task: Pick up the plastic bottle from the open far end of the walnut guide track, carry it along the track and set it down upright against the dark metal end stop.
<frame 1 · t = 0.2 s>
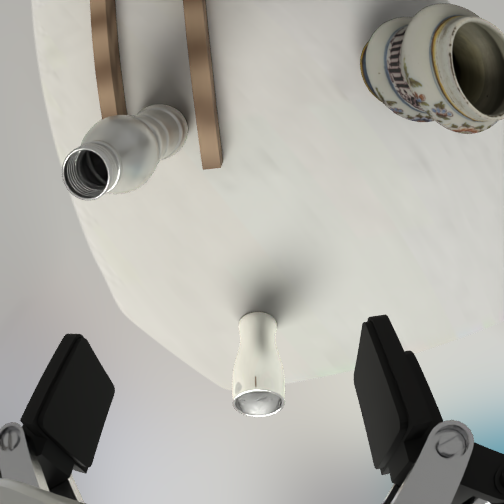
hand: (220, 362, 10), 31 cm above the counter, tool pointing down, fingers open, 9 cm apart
guide track: (155, 58, 31), on the counter
apothecary jar: (396, 69, 31), on the counter
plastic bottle: (165, 128, 35), on the counter
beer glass: (257, 325, 50), on the counter
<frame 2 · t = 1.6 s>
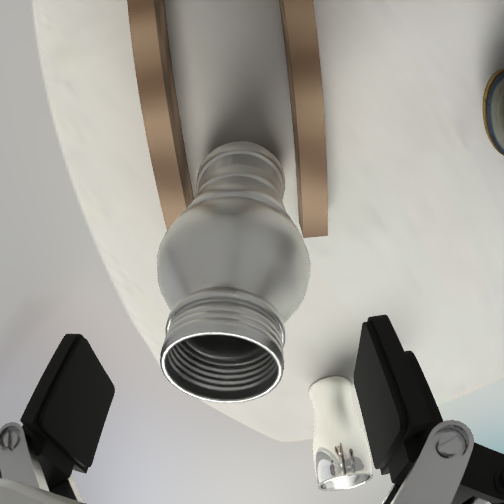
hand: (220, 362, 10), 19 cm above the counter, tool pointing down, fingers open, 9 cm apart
guide track: (229, 67, 22), on the counter
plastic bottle: (242, 172, 26), on the counter
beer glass: (329, 387, 41), on the counter
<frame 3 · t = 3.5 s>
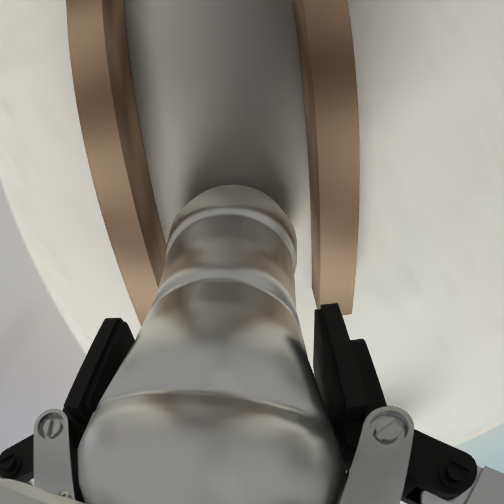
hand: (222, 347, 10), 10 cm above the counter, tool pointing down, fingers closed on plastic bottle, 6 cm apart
guide track: (214, 72, 14), on the counter
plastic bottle: (235, 225, 19), on the counter, touching gripper
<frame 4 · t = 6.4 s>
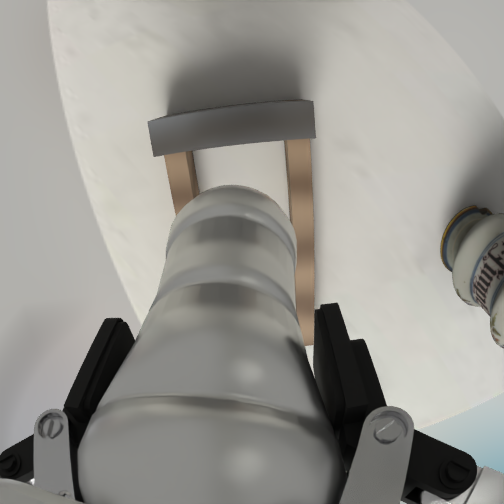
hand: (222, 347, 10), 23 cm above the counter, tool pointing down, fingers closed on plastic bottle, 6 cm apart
guide track: (249, 237, 34), on the counter
apothecary jar: (468, 239, 35), on the counter
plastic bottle: (235, 225, 19), point 13 cm above the counter, touching gripper
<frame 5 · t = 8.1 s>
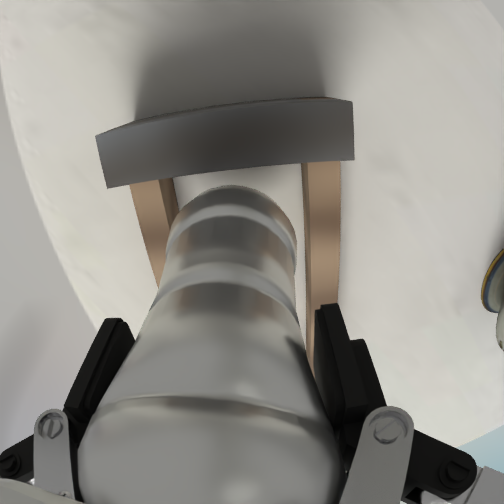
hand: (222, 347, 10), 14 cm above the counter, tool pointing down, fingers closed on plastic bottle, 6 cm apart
guide track: (250, 283, 26), on the counter
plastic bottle: (235, 226, 19), point 4 cm above the counter, touching gripper
when the fingers open (11 cm above the counter, at t = 9.6 s): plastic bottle drops 1 cm, on the counter.
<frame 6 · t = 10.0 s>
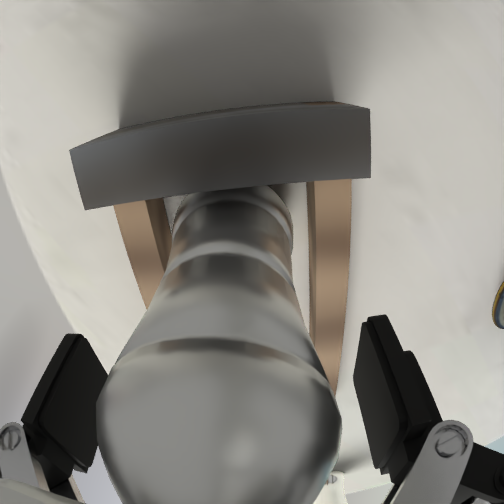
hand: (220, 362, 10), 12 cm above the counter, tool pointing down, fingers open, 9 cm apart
guide track: (249, 306, 24), on the counter
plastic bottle: (235, 213, 20), on the counter
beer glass: (326, 475, 43), on the counter
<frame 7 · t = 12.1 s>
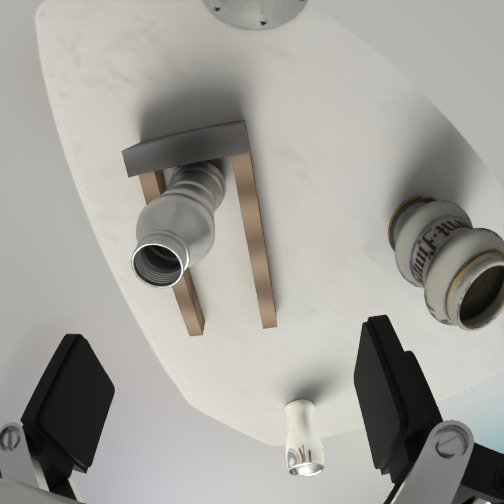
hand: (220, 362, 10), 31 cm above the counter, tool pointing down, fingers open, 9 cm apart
guide track: (213, 236, 42), on the counter
apothecary jar: (417, 227, 41), on the counter
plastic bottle: (200, 182, 38), on the counter
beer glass: (299, 406, 59), on the counter
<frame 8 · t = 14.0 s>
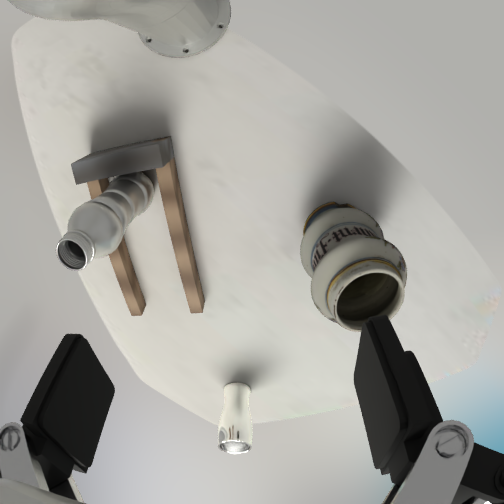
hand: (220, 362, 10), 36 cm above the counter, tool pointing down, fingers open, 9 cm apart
guide track: (148, 232, 48), on the counter
apothecary jar: (334, 231, 48), on the counter
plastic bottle: (137, 187, 44), on the counter
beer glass: (237, 389, 67), on the counter
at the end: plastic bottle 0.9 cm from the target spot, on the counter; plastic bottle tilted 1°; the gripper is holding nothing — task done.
